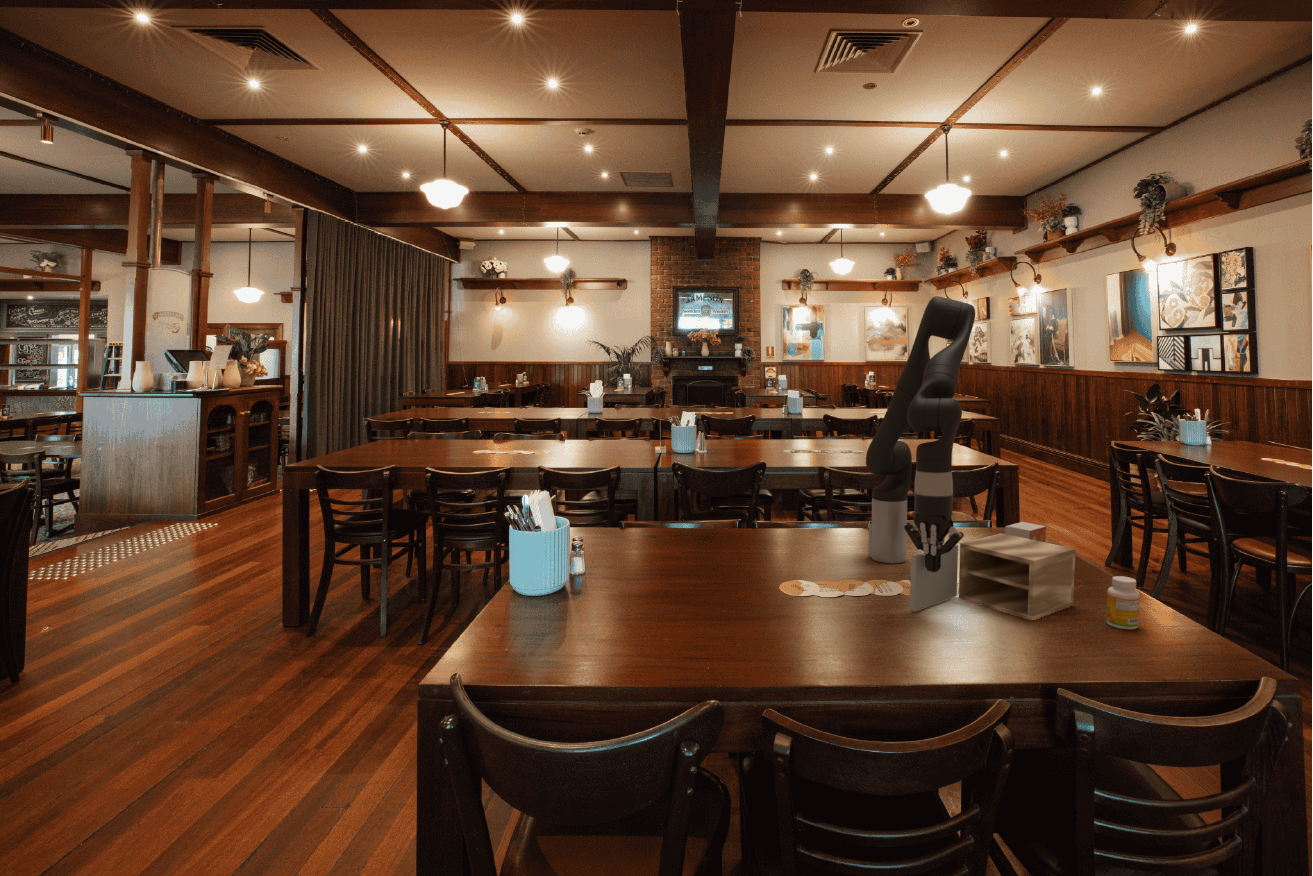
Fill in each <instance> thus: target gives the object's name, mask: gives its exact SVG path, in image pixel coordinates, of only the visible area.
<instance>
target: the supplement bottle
mask: <svg viewBox="0 0 1313 876" xmlns="http://www.w3.org/2000/svg"><path fill="white" fill-rule="evenodd" d="M1111 585H1112V586H1110V587H1108V589H1107V592H1106V614H1105V622H1106V623H1107V624H1108V625H1109V626H1110V627H1113V628H1116V629H1120V630H1135V629H1137V628H1138V627H1139V617H1140V616H1139V613H1140V598H1141V597H1140V596H1141V595H1140V592H1139V591H1138V590H1136V587H1137V580H1136V579H1134V578H1133V577H1128V576H1123V575H1122V576H1121V575H1118V576H1117V575H1116V576H1112V579H1111Z"/></svg>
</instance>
